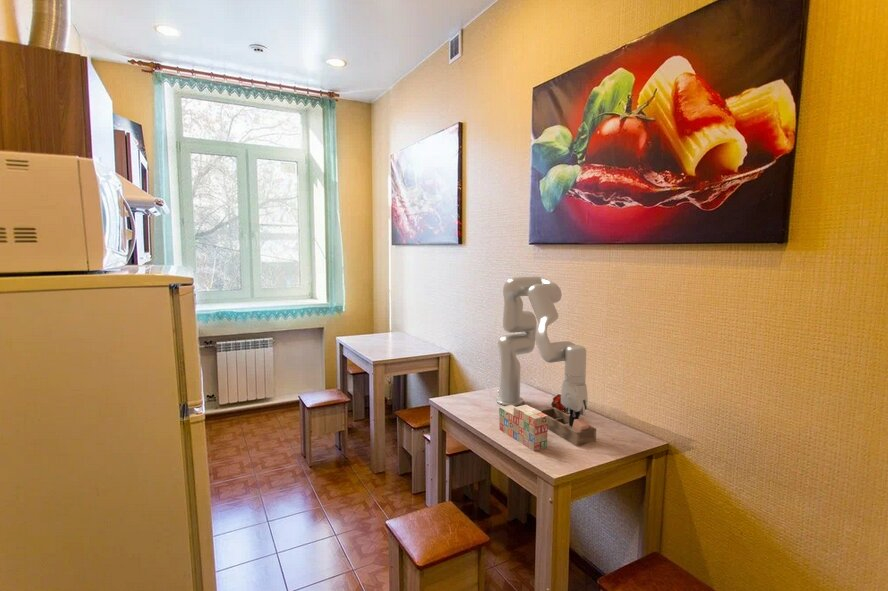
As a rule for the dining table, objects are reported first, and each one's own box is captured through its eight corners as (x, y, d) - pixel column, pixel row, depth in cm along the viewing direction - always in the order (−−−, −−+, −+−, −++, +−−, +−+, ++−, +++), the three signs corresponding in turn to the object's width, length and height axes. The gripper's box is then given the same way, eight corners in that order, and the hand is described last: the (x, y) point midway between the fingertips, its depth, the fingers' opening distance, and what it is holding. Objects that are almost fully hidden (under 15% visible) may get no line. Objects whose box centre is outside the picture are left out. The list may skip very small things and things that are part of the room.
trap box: (536, 422, 179) (536, 410, 179) (553, 418, 183) (553, 407, 182) (576, 446, 158) (577, 433, 157) (595, 441, 161) (596, 428, 161)
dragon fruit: (573, 412, 195) (554, 421, 189) (561, 397, 200) (542, 405, 194) (581, 401, 189) (562, 410, 183) (568, 385, 194) (549, 394, 188)
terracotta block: (571, 428, 163) (574, 419, 162) (580, 426, 165) (582, 417, 163) (578, 435, 160) (581, 426, 158) (587, 433, 162) (589, 424, 160)
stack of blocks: (498, 429, 173) (499, 399, 171) (511, 426, 176) (512, 397, 174) (534, 451, 154) (534, 418, 153) (547, 448, 157) (548, 414, 156)
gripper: (554, 374, 168) (553, 420, 170) (581, 385, 155) (580, 435, 157) (569, 372, 172) (568, 417, 173) (597, 382, 158) (596, 431, 160)
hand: (573, 425), depth 165 cm, fingers closed
